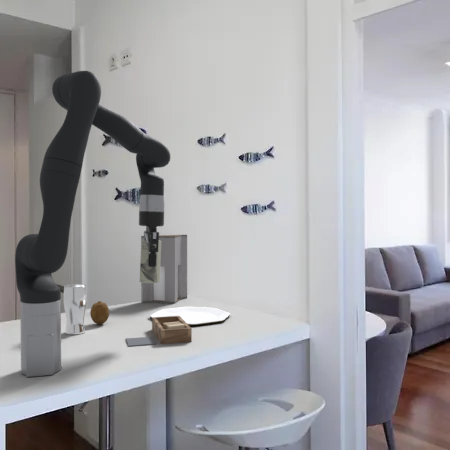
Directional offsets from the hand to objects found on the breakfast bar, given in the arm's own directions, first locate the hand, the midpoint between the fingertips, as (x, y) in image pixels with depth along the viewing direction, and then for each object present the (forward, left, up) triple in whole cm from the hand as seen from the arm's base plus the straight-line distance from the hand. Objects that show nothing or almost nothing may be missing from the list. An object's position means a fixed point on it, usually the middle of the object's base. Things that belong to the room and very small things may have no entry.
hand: (150, 265), depth 150 cm
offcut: (-3, -7, -20) cm, 21 cm away
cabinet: (+57, -16, -23) cm, 63 cm away
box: (0, 0, -5) cm, 5 cm away
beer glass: (+14, +22, -22) cm, 34 cm away
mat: (-3, +3, -22) cm, 23 cm away
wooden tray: (+2, -7, -22) cm, 23 cm away
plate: (+25, -18, -23) cm, 38 cm away
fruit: (+23, +14, -23) cm, 35 cm away
